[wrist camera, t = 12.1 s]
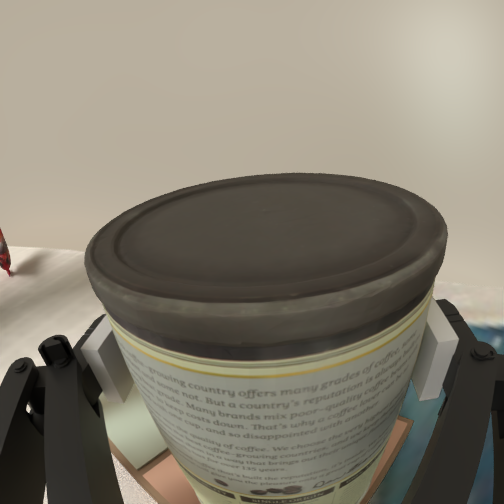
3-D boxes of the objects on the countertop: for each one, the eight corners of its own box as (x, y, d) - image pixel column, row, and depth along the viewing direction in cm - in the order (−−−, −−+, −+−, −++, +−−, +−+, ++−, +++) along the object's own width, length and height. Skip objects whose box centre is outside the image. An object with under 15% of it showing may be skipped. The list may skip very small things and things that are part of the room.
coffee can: (164, 437, 17) (79, 213, 11) (302, 374, 21) (296, 164, 16) (246, 576, 9) (107, 406, 3) (411, 467, 13) (501, 212, 7)
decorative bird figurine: (13, 263, 55) (-1, 218, 51) (20, 289, 42) (0, 232, 39) (2, 268, 53) (-12, 223, 49) (6, 296, 41) (-15, 239, 37)
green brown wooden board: (73, 400, 22) (64, 386, 21) (185, 330, 31) (181, 316, 30) (286, 599, 8) (286, 597, 7) (408, 433, 17) (414, 418, 16)
